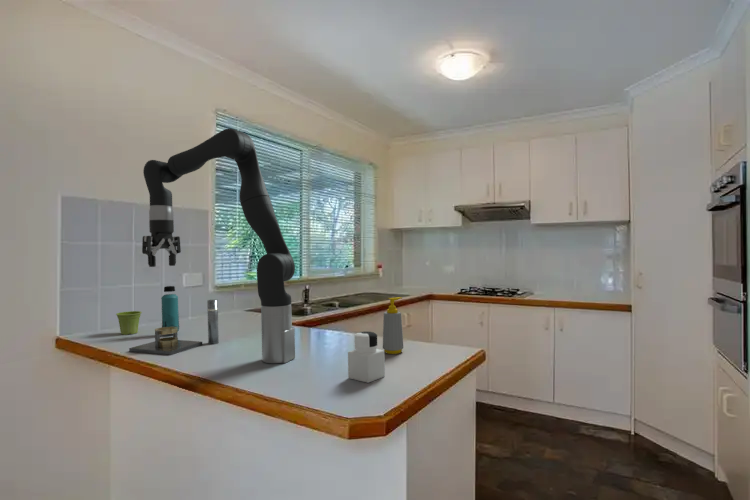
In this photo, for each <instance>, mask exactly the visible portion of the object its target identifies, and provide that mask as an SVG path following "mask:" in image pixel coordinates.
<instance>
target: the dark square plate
mask: <svg viewBox="0 0 750 500" xmlns="http://www.w3.org/2000/svg"><path fill="white" fill-rule="evenodd" d="M178 332H179V331H178V327H177V326H174V327H162V326H161V327H158V328H155V329H154V338H155V339H154V341H151V342H147V343H143V344H140V345H136V346H133V347H128V352H129V353H141V354H142V353H143V354H149V355H150V354H152V355H164V356H173V355H176V354H178V353H182V352H185V351H188V350H192V349H194V348H197V347H201V346H203V341H197V340H182V339H181V340H180V339H179V338H178ZM171 334H172V336H167V337H161V336H162V335H164V336H165V335H171ZM160 335H161V336H160Z"/></svg>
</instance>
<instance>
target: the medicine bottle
mask: <svg viewBox="0 0 750 500" xmlns="http://www.w3.org/2000/svg"><path fill="white" fill-rule="evenodd" d="M385 363H386V360H385V351H384V349H379V348H378V334H377V333H375V332H373V331H360V332H357V333H355V334H354V349H353V350H349V351H348V352H347V376H348V377H347V378H348V379H351V380H355V381H359V382H363V383H367V384H368V383H372V382H375V381H377V380H379V379H382V378H384V377H385V376H386V367H385Z"/></svg>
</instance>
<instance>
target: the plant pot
mask: <svg viewBox="0 0 750 500" xmlns="http://www.w3.org/2000/svg"><path fill="white" fill-rule="evenodd" d="M142 313H143V312H142V311H139V310H131V311H122V312H117V313H116V314H115V316H117V320H118V325H119V330H120V331H119V332H120V334H121V335H122V336H123V335H125V336H127V335H130V334H131V335H135V334H137V333H138V331H139V323H140V318H141V316H142V315H141V314H142Z"/></svg>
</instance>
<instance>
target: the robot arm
mask: <svg viewBox="0 0 750 500" xmlns="http://www.w3.org/2000/svg"><path fill="white" fill-rule="evenodd" d="M257 154H258V153H257V150H256V146H255V143H254V140H253V139H252V137H251V136H250V135H248V134H247V133H244V132H243V131H240V130H237V129H235V128H225V129H223V130H221V131H219V132H217V133H216V134H214V135H213V136H211V137H209V138H208V139H206V140H204V141H203V142H201V143H200V144H197V145H196V146H193V147H191V148H190V149H187V150H185V151H181V152H179V153H175V154H173V155H171V156H170V157H169V158H168V159H167V162H165V161H162V160H161V161H160V160H157V159H150V160H148V161H147V162H146V163H145V164H144V166H143V170H142V171H143V177H144V180H145V184H146V187H147V190H148V193H149V209H148V219H149V222H148V225H149V226H148V227H149V228H148V229H149V233H150V235H143V236H142V241H141V242H142V243H141V244H142V248H141V250H142V251H141V253H142V254H143V255H147V264H148V267H149V268H155V267H156V266H157V265H156V262H157V260H156V253H157V252H158V251H159V250H160V249H163V250H165V251H166V252H167V253H168V254H169V255H168V265H169V266H170V267H172V266H173V267H174V266H176V265H177V264H176V263H177V255H178V254H180V253H181V251H182V250H181V249H182V248H181V237H180V236H177V235H176V236H173V233H175V231H174V227H175V226H174V225H175V224H174V222H175V221H174V209H173V193H172V191H171V190H170V189H168V188H166V187H165V186H164V184H169V183H173V182H175V181H177V180H179V179H180V178H181V177H183V175H187V174H190V173H193V172H195V171H197V170H199V169H201V168H202V167H203V166H204V165H205V164H206V163H208V162H209V161H210V160H213V159H214V160H215V159H219V158H227V159H230V160H233V161H235V163H236V166H237V168H238V170H239V174H240V179H241V180H240V181H241V182H240V190H239V202H240V205H241V209H242V213H243V215H244V218H245V221H246V222H247V224H248V225H249V226H250V228H251V229H252V230H253V232H254V233H255V234H256V236H258V238H259V240H260V241H261V242H262V245H263V247H264V250H265V252H266V254H264V255H262V256H261V257H260V258H259V259H258V262H257V266H256V281H257V283H256V284H257V285H256V286H257V294H258V297H259V299H260V313H261V314H260V315H261V318H260V320H261V360H262V362H263V363H267V364H286V363H288V362H290V361H291V360H293V359H294V360H295V358H296V338H295V335H296V333H295V332H296V331H295V330H296V329H295V328H294V327H293V324H292V323H293V322H292V321H293V317H292V316H293V315H292V296H291V294H289V293H287V291H286V289H285V282H287V281H290V280H291V279H292V278H293V277H294V275H295V271H296V267H295V266H296V265H295V261H294V259H293V256H292V254H291V252H290V249H289V248H288V245H287V243H286V240H285V239H284V235H283V234H282V233H283V232H282V231H281V228H280V225H279V222H278V219H277V216H276V212H275V209H274V207H273V203H272V200H271V197H270V194H269V192H268V190H267V186H266V183H265V179H264V177H263V174H262V172H261V167H260V163H259V160H258V159H259V158H258V155H257Z"/></svg>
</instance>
